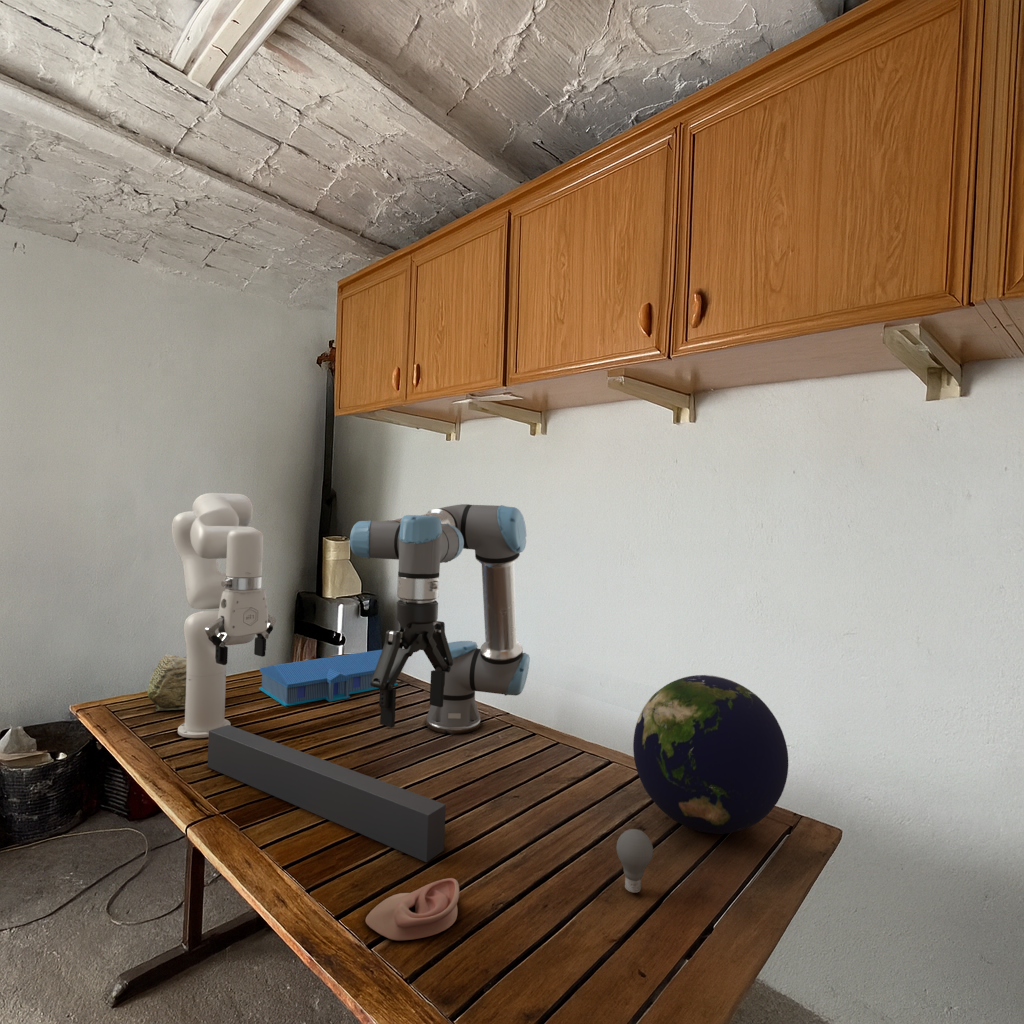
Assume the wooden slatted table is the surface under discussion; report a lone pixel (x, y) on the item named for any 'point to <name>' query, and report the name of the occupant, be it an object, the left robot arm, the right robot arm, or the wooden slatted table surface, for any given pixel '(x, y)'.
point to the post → (331, 791)
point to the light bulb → (634, 857)
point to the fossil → (169, 683)
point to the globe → (710, 754)
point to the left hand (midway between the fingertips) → (241, 659)
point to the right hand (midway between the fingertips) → (413, 715)
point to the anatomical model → (417, 911)
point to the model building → (320, 678)
